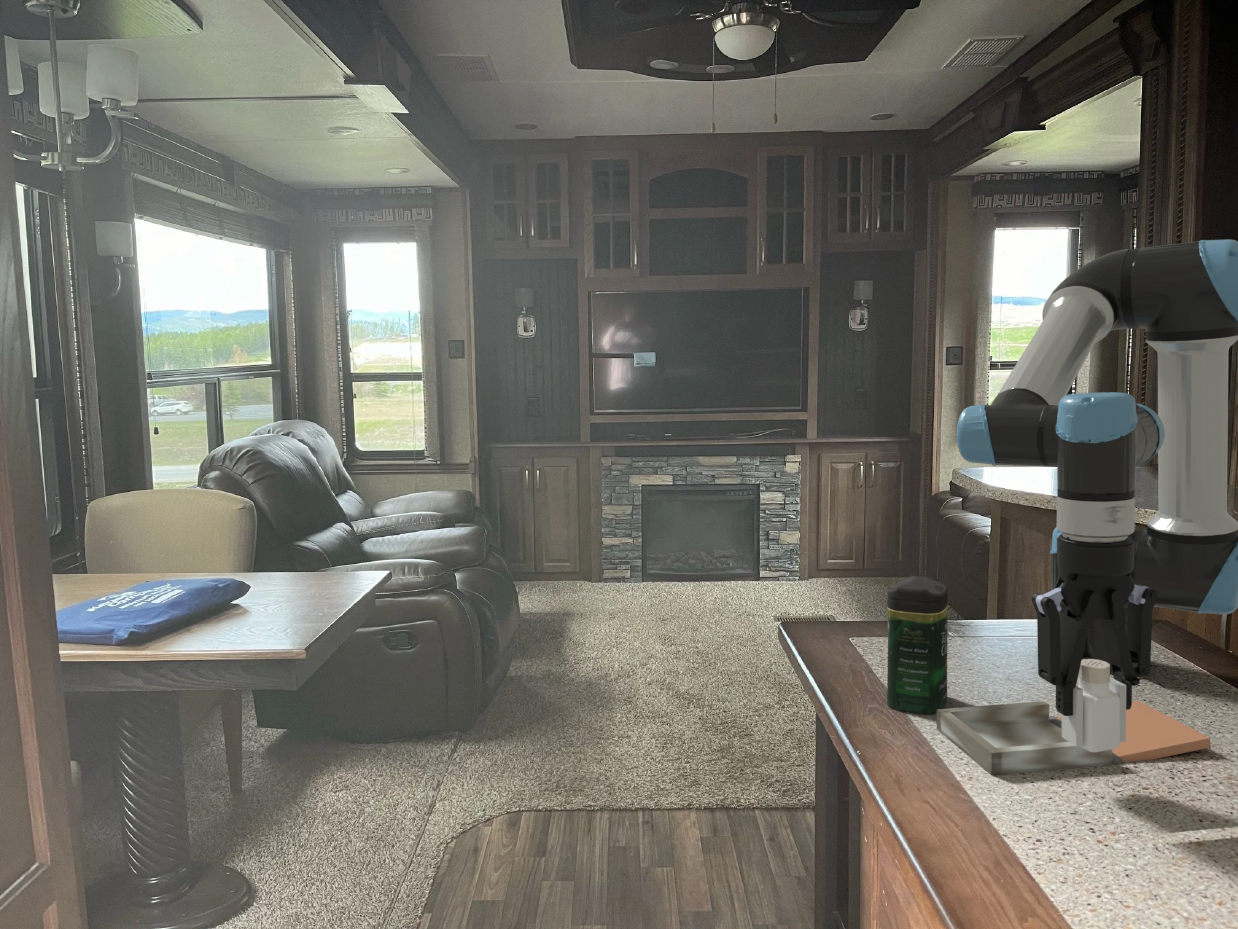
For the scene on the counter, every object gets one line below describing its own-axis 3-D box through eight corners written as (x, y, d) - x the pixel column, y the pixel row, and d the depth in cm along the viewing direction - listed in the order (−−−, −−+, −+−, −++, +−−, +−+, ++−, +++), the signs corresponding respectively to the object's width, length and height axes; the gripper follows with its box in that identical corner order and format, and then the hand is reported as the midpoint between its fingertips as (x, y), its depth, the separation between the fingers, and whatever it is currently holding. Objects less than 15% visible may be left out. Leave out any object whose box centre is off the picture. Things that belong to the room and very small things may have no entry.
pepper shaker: (1092, 755, 99) (1092, 671, 98) (1065, 741, 103) (1065, 660, 102) (1122, 749, 100) (1123, 666, 99) (1094, 735, 104) (1095, 655, 103)
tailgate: (1048, 727, 121) (1137, 709, 122) (1112, 769, 108) (1212, 749, 109) (1047, 717, 121) (1136, 699, 122) (1111, 758, 108) (1211, 737, 109)
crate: (1043, 726, 121) (1044, 701, 121) (1111, 771, 108) (1112, 742, 107) (936, 735, 120) (936, 709, 119) (991, 782, 106) (991, 753, 106)
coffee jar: (940, 723, 124) (940, 589, 122) (881, 714, 128) (880, 585, 126) (953, 700, 132) (953, 574, 130) (897, 692, 136) (896, 570, 134)
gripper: (1039, 548, 94) (1039, 761, 97) (1194, 535, 96) (1189, 745, 99) (1001, 534, 102) (1002, 733, 105) (1145, 523, 104) (1142, 718, 106)
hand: (1093, 738), depth 102 cm, fingers closed on pepper shaker, 4 cm apart
